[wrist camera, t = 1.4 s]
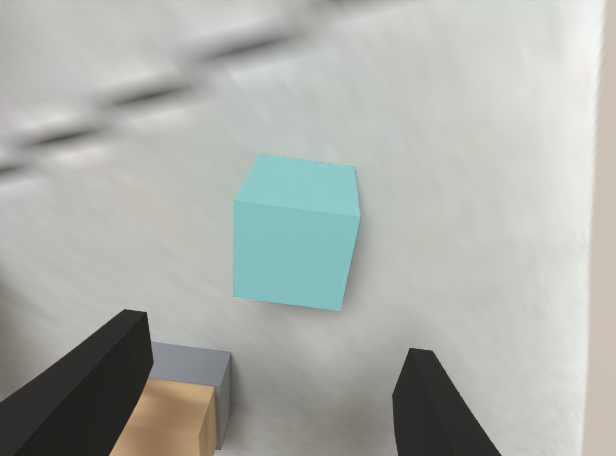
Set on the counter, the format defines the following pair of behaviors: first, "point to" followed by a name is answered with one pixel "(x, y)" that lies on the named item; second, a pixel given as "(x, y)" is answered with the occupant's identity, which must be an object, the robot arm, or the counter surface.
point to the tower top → (170, 421)
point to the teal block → (295, 232)
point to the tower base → (197, 375)
